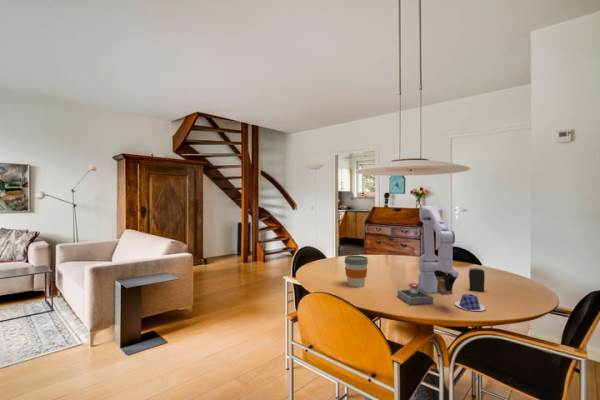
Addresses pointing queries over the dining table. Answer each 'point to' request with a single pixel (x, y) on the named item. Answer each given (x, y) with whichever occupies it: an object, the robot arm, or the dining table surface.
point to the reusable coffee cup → (356, 270)
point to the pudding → (470, 303)
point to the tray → (419, 300)
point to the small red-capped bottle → (413, 290)
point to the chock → (442, 286)
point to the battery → (476, 279)
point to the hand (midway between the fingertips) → (445, 289)
